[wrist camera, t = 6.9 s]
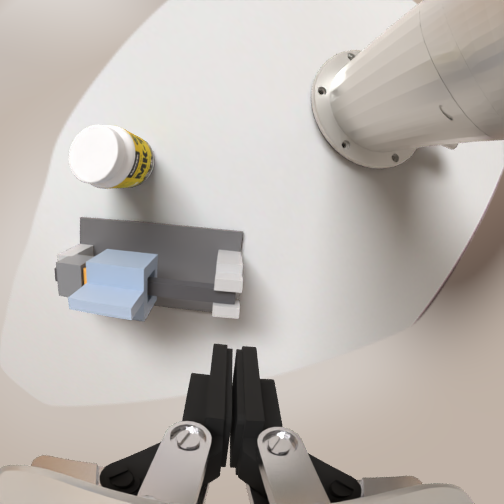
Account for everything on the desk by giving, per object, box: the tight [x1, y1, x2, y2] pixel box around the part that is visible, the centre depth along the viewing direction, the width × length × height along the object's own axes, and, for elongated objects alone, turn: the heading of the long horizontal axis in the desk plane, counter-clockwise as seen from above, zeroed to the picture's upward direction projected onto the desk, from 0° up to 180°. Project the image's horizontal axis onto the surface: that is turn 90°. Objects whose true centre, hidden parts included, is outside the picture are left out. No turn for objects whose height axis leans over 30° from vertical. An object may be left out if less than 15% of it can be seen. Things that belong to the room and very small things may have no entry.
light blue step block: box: [68, 249, 158, 321], centre depth 19 cm, size 5×4×7 cm
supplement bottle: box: [69, 125, 154, 189], centre depth 20 cm, size 5×5×8 cm
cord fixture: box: [55, 217, 243, 319], centre depth 23 cm, size 16×8×7 cm, turn 83°
